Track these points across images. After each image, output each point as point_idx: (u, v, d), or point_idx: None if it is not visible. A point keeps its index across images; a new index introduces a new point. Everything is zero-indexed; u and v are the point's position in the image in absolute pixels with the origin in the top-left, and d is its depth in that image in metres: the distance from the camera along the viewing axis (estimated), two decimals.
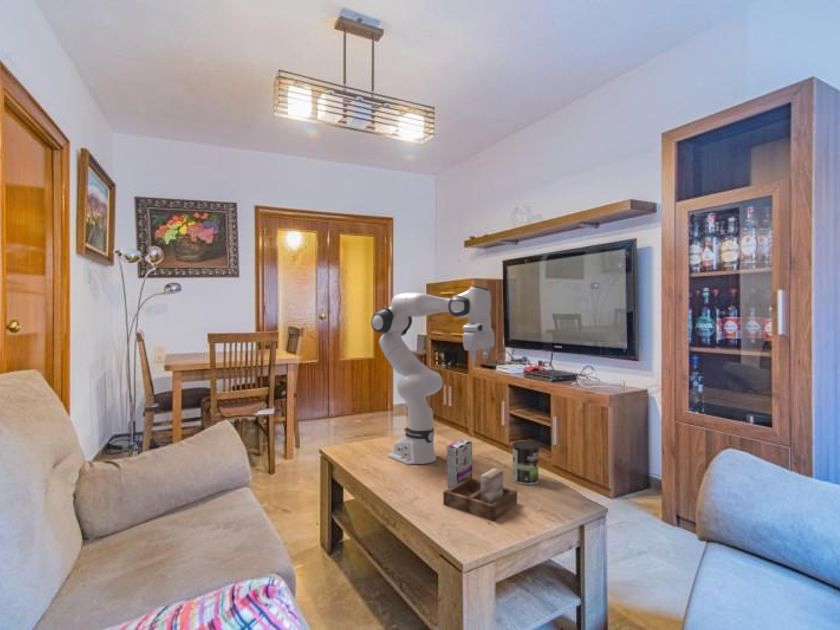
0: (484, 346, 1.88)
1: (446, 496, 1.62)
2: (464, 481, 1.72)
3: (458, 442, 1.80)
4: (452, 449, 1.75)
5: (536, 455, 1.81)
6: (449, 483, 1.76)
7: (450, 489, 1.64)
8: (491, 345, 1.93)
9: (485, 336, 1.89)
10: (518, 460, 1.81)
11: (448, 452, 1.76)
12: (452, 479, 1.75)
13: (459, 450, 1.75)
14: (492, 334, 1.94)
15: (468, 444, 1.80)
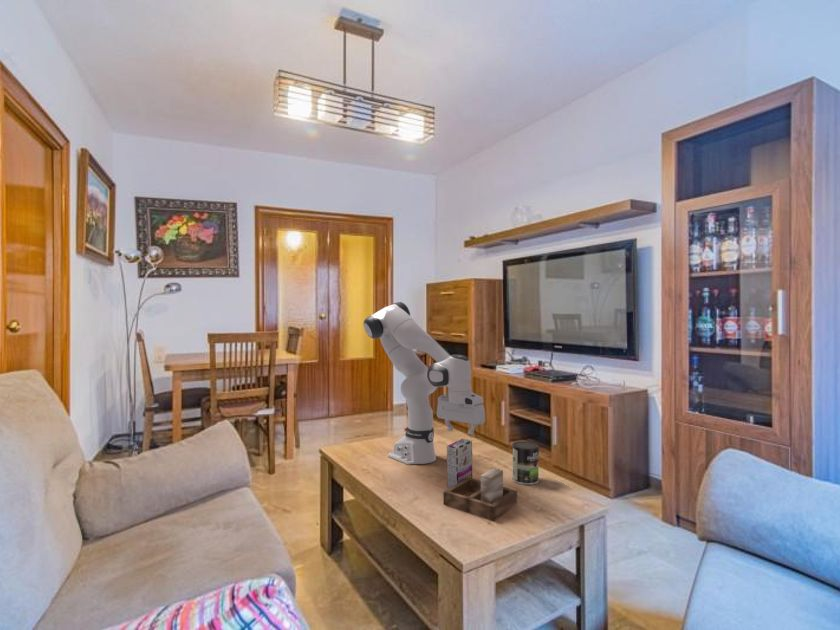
0: None
1: (446, 496, 1.62)
2: (464, 481, 1.72)
3: (458, 442, 1.80)
4: (452, 449, 1.75)
5: (536, 455, 1.81)
6: (449, 483, 1.76)
7: (450, 489, 1.64)
8: None
9: None
10: (519, 460, 1.81)
11: (448, 452, 1.76)
12: (452, 479, 1.75)
13: (459, 450, 1.75)
14: None
15: (468, 444, 1.80)
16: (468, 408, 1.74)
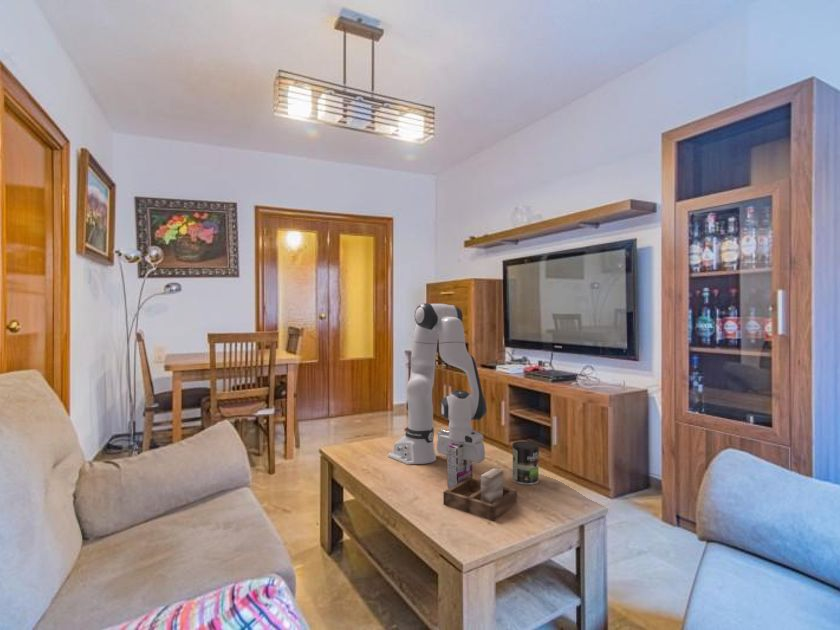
0: None
1: (446, 496, 1.62)
2: (464, 481, 1.72)
3: None
4: (452, 449, 1.75)
5: (536, 455, 1.81)
6: (449, 483, 1.76)
7: (450, 489, 1.64)
8: None
9: None
10: (519, 460, 1.81)
11: (448, 452, 1.76)
12: (452, 479, 1.75)
13: (459, 449, 1.75)
14: None
15: None
16: (468, 446, 1.75)
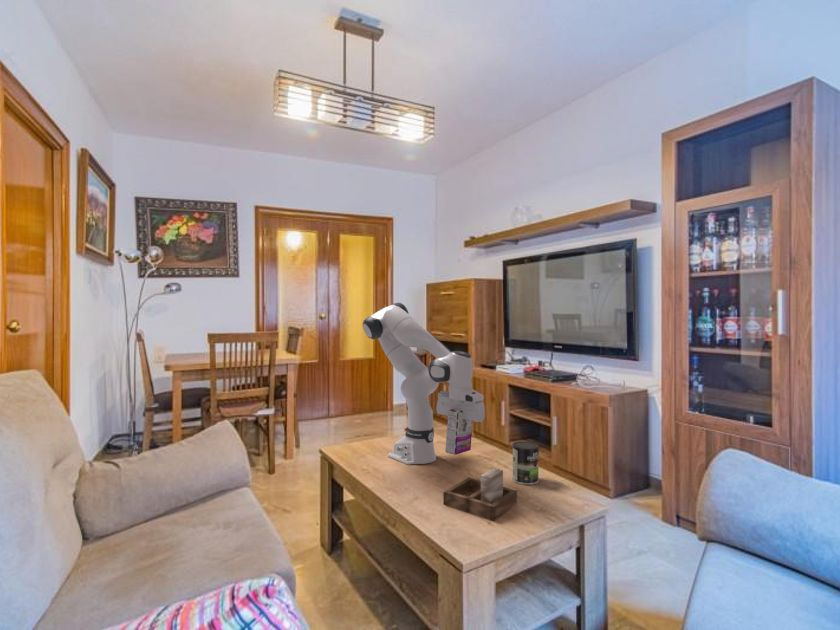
0: None
1: (446, 496, 1.62)
2: (464, 481, 1.72)
3: None
4: (453, 413, 1.75)
5: (536, 455, 1.81)
6: (447, 447, 1.76)
7: (450, 489, 1.64)
8: None
9: None
10: (519, 460, 1.81)
11: (449, 416, 1.76)
12: (451, 444, 1.75)
13: (460, 414, 1.75)
14: None
15: None
16: (468, 405, 1.75)
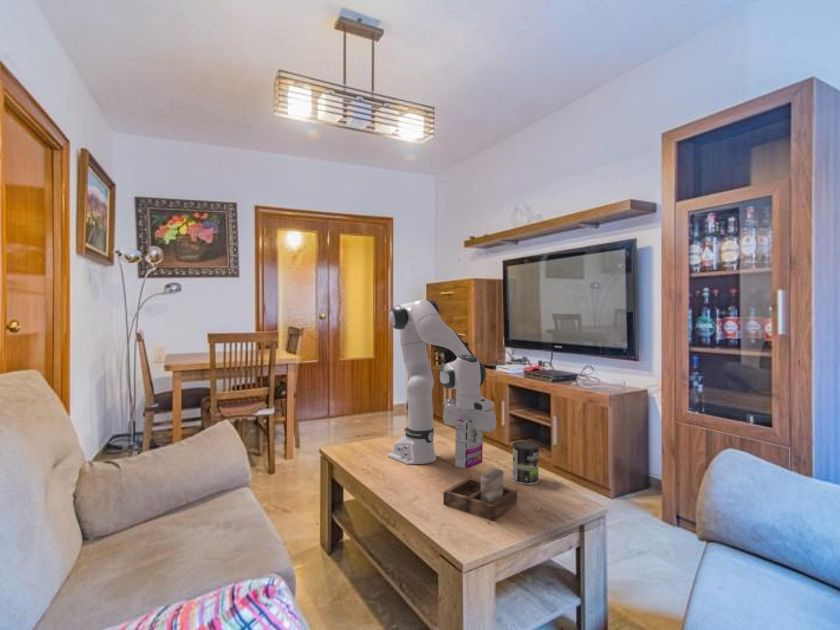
0: None
1: (446, 496, 1.62)
2: (464, 481, 1.72)
3: None
4: (461, 423, 1.61)
5: (536, 455, 1.81)
6: (457, 461, 1.62)
7: (450, 489, 1.64)
8: None
9: None
10: (519, 460, 1.81)
11: (457, 427, 1.62)
12: (460, 457, 1.61)
13: (469, 424, 1.61)
14: None
15: None
16: (477, 414, 1.60)
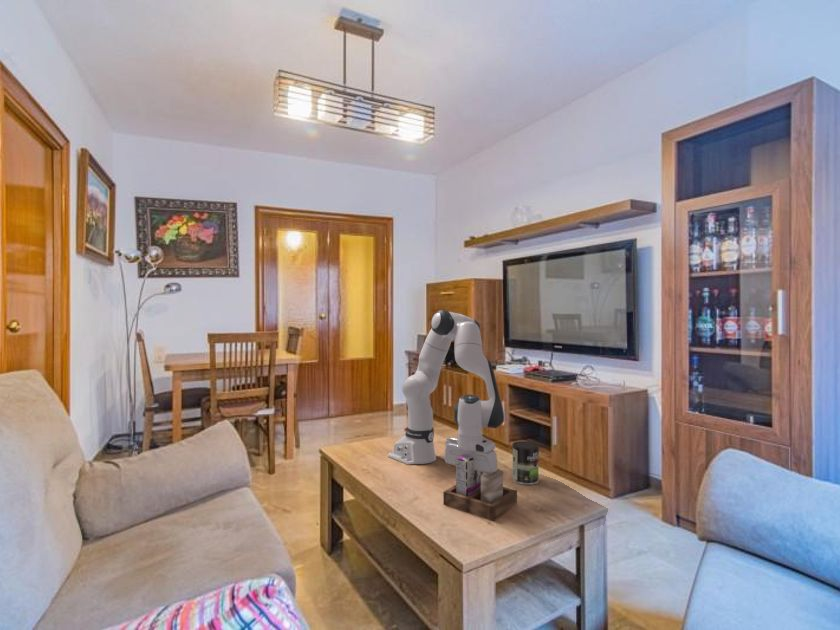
0: None
1: (446, 496, 1.62)
2: None
3: None
4: (461, 462, 1.61)
5: (536, 455, 1.81)
6: None
7: (450, 489, 1.64)
8: None
9: None
10: (518, 460, 1.81)
11: (457, 465, 1.62)
12: None
13: (469, 463, 1.61)
14: None
15: None
16: (479, 455, 1.61)
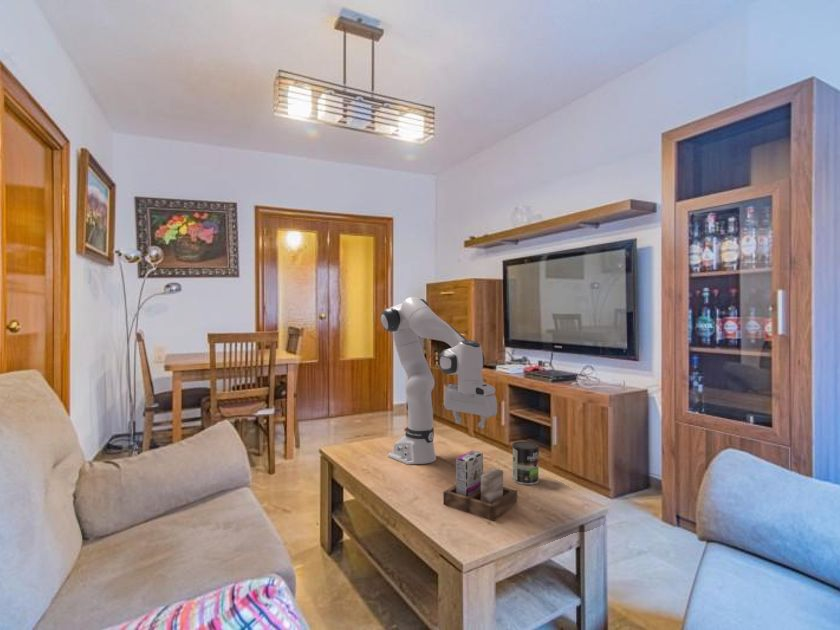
0: None
1: (446, 496, 1.62)
2: None
3: (468, 454, 1.66)
4: (461, 462, 1.61)
5: (536, 455, 1.81)
6: None
7: (450, 489, 1.64)
8: None
9: None
10: (518, 460, 1.81)
11: (457, 465, 1.62)
12: None
13: (469, 463, 1.61)
14: None
15: (479, 457, 1.66)
16: (479, 399, 1.60)
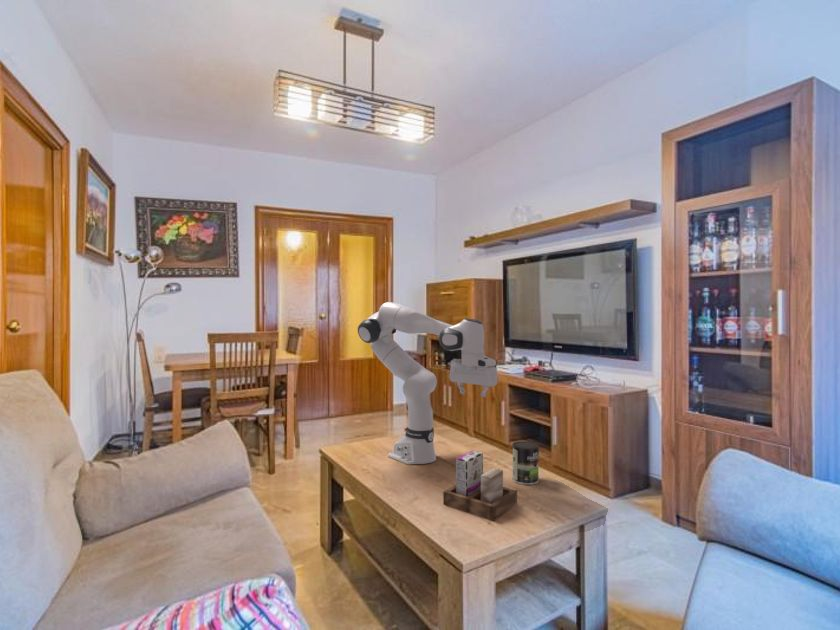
0: None
1: (446, 496, 1.62)
2: None
3: (468, 454, 1.66)
4: (461, 462, 1.61)
5: (536, 455, 1.81)
6: None
7: (450, 489, 1.64)
8: None
9: None
10: (519, 460, 1.81)
11: (457, 465, 1.62)
12: None
13: (469, 463, 1.61)
14: None
15: (479, 457, 1.66)
16: (481, 370, 1.78)
